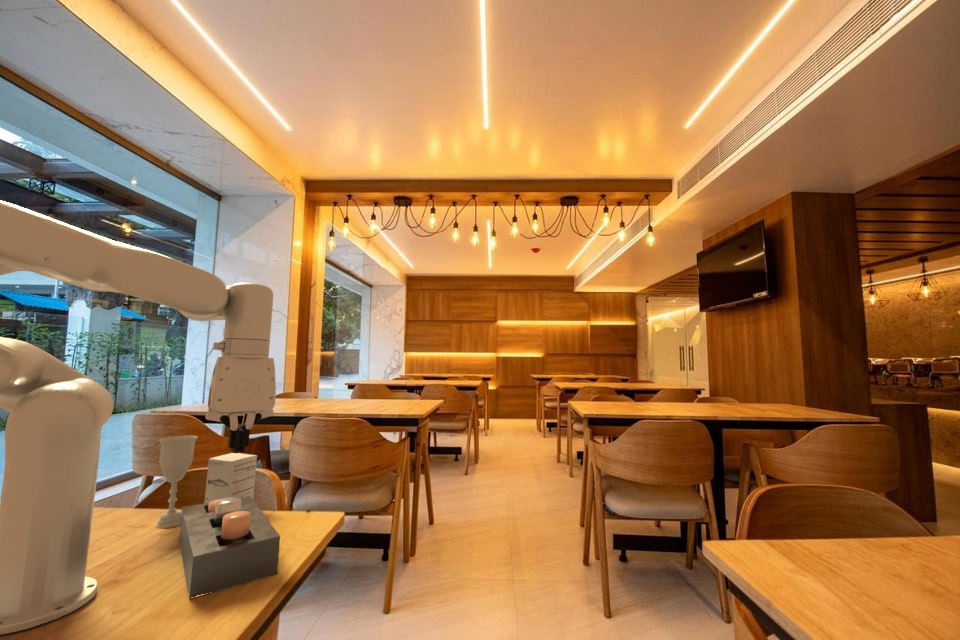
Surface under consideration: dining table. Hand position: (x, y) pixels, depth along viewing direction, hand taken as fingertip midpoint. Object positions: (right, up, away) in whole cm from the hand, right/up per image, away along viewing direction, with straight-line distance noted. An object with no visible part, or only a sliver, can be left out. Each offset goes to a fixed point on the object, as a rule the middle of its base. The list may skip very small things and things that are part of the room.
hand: (237, 451), depth 72 cm
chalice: (-23, -21, +14) cm, 34 cm away
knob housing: (-3, -19, +1) cm, 20 cm away
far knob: (-9, -16, +8) cm, 20 cm away
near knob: (+3, -12, -5) cm, 14 cm away
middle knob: (-3, -13, +2) cm, 13 cm away
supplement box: (-16, -22, +22) cm, 35 cm away
